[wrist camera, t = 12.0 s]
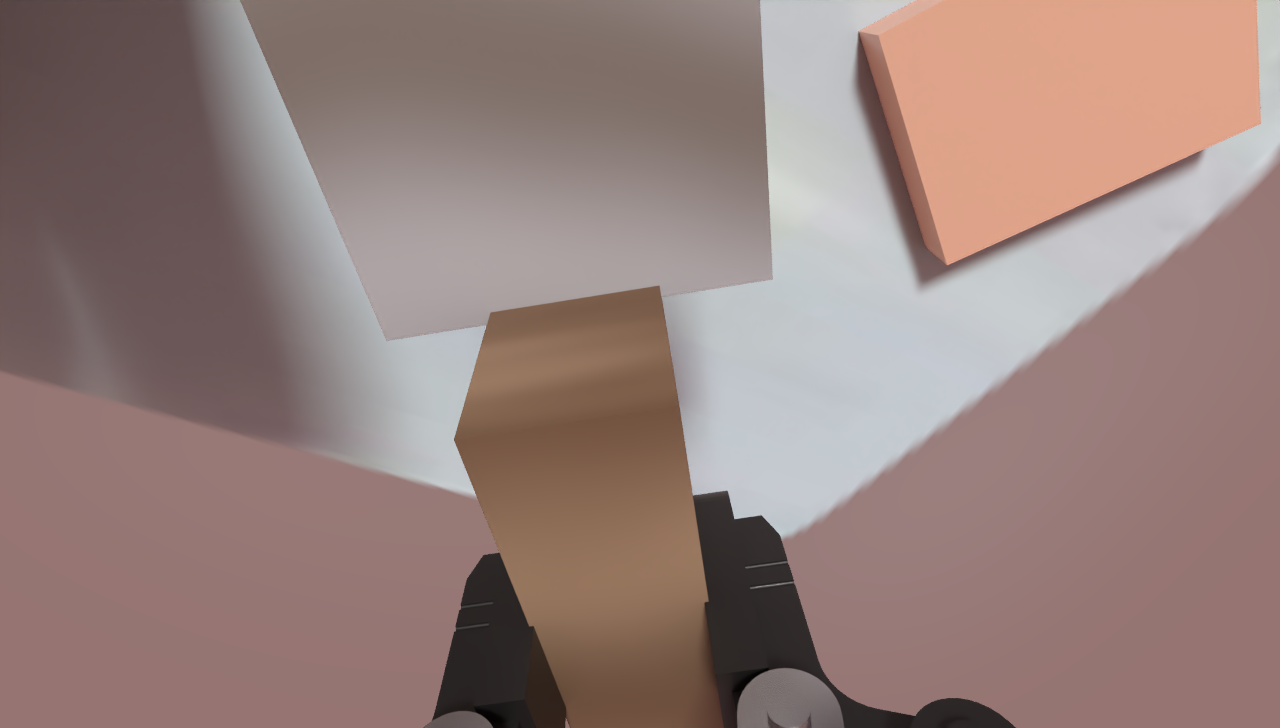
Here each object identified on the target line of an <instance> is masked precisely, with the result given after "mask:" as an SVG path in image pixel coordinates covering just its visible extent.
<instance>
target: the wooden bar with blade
mask: <svg viewBox="0 0 1280 728" xmlns="http://www.w3.org/2000/svg"><path fill="white" fill-rule="evenodd" d="M240 1H241V3H242V6H243V8H244V10H245V13H246V15H247V17H248V20H249V22H250V24H251V27H252V29H253V31H254V34H255V36H256V38H257V41H258V43H259V45H260V47H261V50H262V52H263V54H264V57H265V59H266V61H267V64H268V66H269V68H270V71H271V73H272V75H273V78H274V80H275V82H276V85H277V87H278V89H279V92H280V94H281V96H282V99H283V101H284V103H285V106H286V108H287V110H288V113H289V115H290V117H291V120H292V122H293V124H294V127H295V129H296V131H297V133H298V136H299V138H300V140H301V143H302V145H303V147H304V150H305V152H306V154H307V157H308V159H309V161H310V164H311V166H312V168H313V171H314V173H315V175H316V178H317V180H318V182H319V185H320V187H321V189H322V192H323V194H324V196H325V199H326V201H327V203H328V206H329V208H330V210H331V213H332V215H333V217H334V219H335V222H336V224H337V226H338V229H339V231H340V233H341V236H342V238H343V240H344V243H345V245H346V247H347V250H348V252H349V254H350V257H351V259H352V261H353V264H354V266H355V268H356V271H357V273H358V275H359V278H360V280H361V282H362V285H363V287H364V289H365V292H366V294H367V296H368V299H369V301H370V303H371V305H372V308H373V310H374V312H375V315H376V317H377V319H378V322H379V324H380V326H381V329H382V331H383V333H384V336H385V338H386V340H387V341H389V340H395V339H401V338H408V337H414V336H420V335H426V334H433V333H439V332H445V331H452V330H458V329H464V328H470V327H477V326H483V325H487V326H486V330H485V333H484V337H483V340H482V344H481V347H480V351H479V354H478V358H477V361H476V365H475V368H474V372H473V375H472V379H471V382H470V386H469V389H468V393H467V396H466V400H465V403H464V407H463V410H462V414H461V417H460V421H459V424H458V428H457V431H456V435H455V438H454V441H455V443H456V446H457V448H458V451H459V453H460V456H461V458H462V461H463V463H464V466H465V468H466V471H467V473H468V476H469V478H470V481H471V483H472V486H473V488H474V491H475V493H476V496H477V498H478V500H479V503H480V505H481V508H482V510H483V513H484V515H485V518H486V520H487V522H488V525H489V528H490V530H491V533H492V535H493V538H494V540H495V542H496V545H497V547H498V550H499V553H500V555H501V558H502V560H503V562H504V565H505V567H506V570H507V572H508V575H509V577H510V580H511V582H512V585H513V587H514V590H515V592H516V595H517V597H518V600H519V602H520V605H521V607H522V610H523V612H524V615H525V617H526V620H527V622H528V624H529V626H534V628H535V631H536V633H537V636H538V638H539V641H540V643H541V646H542V648H543V651H544V653H545V656H546V658H547V661H548V663H549V666H550V668H551V671H552V673H553V676H554V678H555V681H556V684H557V686H558V689H559V691H560V694H561V696H562V699H563V701H564V704H565V706H566V719H567V721H568V724H569V726H570V728H724V727H723V720H722V714H721V708H720V701H719V695H718V689H717V682H716V676H715V669H714V663H713V656H712V650H711V643H710V636H709V630H708V623H707V617H706V610H705V603H704V602H709V600H708V593H707V587H706V580H705V574H704V567H703V560H702V554H701V547H700V541H699V534H698V527H697V521H696V514H695V507H694V501H693V494H692V488H691V481H690V474H689V468H688V461H687V454H686V448H685V441H684V435H683V428H682V421H681V415H680V408H679V402H678V396H677V390H676V383H675V377H674V371H673V365H672V359H671V353H670V347H669V340H668V334H667V328H666V322H665V316H664V310H663V304H662V298H661V297H665V296H671V295H678V294H684V293H690V292H696V291H703V290H709V289H715V288H722V287H728V286H734V285H740V284H747V283H753V282H759V281H766V280H772V279H773V276H772V254H771V232H770V211H769V189H768V167H767V146H766V124H765V102H764V81H763V59H762V37H761V16H760V0H240Z"/></svg>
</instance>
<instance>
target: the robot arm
mask: <svg viewBox="0 0 1280 728" xmlns="http://www.w3.org/2000/svg"><path fill="white" fill-rule="evenodd" d="M693 501H694V507H695V514H696V521H697V527H698V534H699V541H700V547H701V554H702V560H703V567H704V574H705V580H706V587H707V593H708V600H709V602H704V603H705V610H706V617H707V623H708V630H709V636H710V643H711V650H712V656H713V663H714V669H715V676H716V682H717V689H718V695H719V701H720V708H721V714H722V720H723V727H724V728H1015V727H1014V726H1013V725H1012V724H1011V723H1010V722H1009V721H1008V720H1006V719H1005V718H1004V717H1002V716H1001V715H1000V714H999V713H997V712H995V711H994V710H992V709H990V708H989V707H986V706H984V705H982V704H979V703H977V702H973V701H970V700H965V699H960V698H947V699H940V700H937V701H934V702H931V703H930V704H928V705H926V706H924V707H923V708H922V709H921V710H920V711H919V712H918V713H917V715H916V716H912V715H906V714H901V713H896V712H891V711H886V710H880V709H875V708H872V707H868V706H865V705H863V704H860V703H858V702H856V701H854V700H852V699H850V698H848V697H847V696H846V695H844V694H843V693H842V692H840V691H839V690H838V689H837V688H836V687H835V686H834V685H833V684H832V683H831V682H830V681H829V679H828V678H827V677H826V675H825V674H824V672H823V670H822V668H821V666H820V663H819V661H818V658H817V655H816V651H815V648H814V645H813V641H812V638H811V635H810V632H809V629H808V626H807V622H806V619H805V615H804V612H803V609H802V606H801V602H800V599H799V596H798V593H797V589H796V586H795V585H794V580H793V576H792V573H791V570H790V567H789V565H788V561H787V557H786V554H785V551H784V548H783V544H782V541H781V537H780V535H779V534H778V533H777V531H776V530H775V529H774V528H773V527H772V526H771V525H770V524H769V523H768V522H767V521H766V520H765V519H764V518H763V516H755V517H748V518H741V519H734V516H733V512H732V507H731V503H730V499H729V494H728V491H721V492H715V493H708V494H701V495H694V496H693ZM565 718H566V706H565V704H564V701H563V699H562V696H561V694H560V691H559V689H558V686H557V684H556V681H555V678H554V676H553V673H552V671H551V668H550V666H549V663H548V661H547V658H546V656H545V653H544V651H543V648H542V646H541V643H540V641H539V638H538V636H537V633H536V631H535V628H534V626H529V624H528V622H527V620H526V617H525V615H524V612H523V610H522V607H521V605H520V602H519V600H518V597H517V595H516V592H515V590H514V587H513V585H512V582H511V580H510V577H509V575H508V572H507V570H506V567H505V565H504V562H503V560H502V558H501V555H500V553H495V554H488V555H483V557H482V558H481V560H480V561H479V563H478V564H477V565H476V567H475V568H474V570H473V571H472V573H471V574H470V575H469V577H468V578H467V581H466V585H465V589H464V593H463V597H462V602H461V610H459V614H458V618H457V623H456V632H454V635H453V639H452V643H451V647H450V651H449V656H448V660H447V664H446V668H445V672H444V676H443V680H442V685H441V689H440V693H439V697H438V701H437V706H436V710H435V713H434V716H433V719H432V722H430V723H429V724H427V725H426V726H425V727H424V728H565V720H566V719H565Z"/></svg>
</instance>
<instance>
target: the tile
mask: <svg viewBox="0 0 1280 728" xmlns="http://www.w3.org/2000/svg"><path fill="white" fill-rule="evenodd" d="M859 34H860V38H861V41H862V44H863V47H864V51H865V54H866V57H867V60H868V63H869V67H870V70H871V73H872V76H873V79H874V83H875V86H876V89H877V92H878V96H879V99H880V102H881V105H882V108H883V112H884V115H885V118H886V121H887V124H888V128H889V131H890V134H891V137H892V141H893V144H894V147H895V150H896V153H897V157H898V160H899V163H900V166H901V169H902V173H903V176H904V179H905V182H906V185H907V189H908V192H909V195H910V198H911V202H912V205H913V208H914V211H915V214H916V218H917V221H918V224H919V227H920V230H921V234H922V237H923V240H924V243H925V247H926V248H927V249H928V250H929V251H931V252H932V253H933V254H934V255H935V256H937V257H938V258H939V259H940V260H941V261H942V262H944V263H945V264H946V265H949V264H952V263H954V262H956V261H958V260H960V259H963V258H965V257H967V256H969V255H971V254H974V253H976V252H978V251H980V250H982V249H985V248H987V247H989V246H991V245H994V244H996V243H998V242H1000V241H1002V240H1005V239H1007V238H1009V237H1011V236H1013V235H1016V234H1018V233H1020V232H1022V231H1024V230H1027V229H1029V228H1031V227H1033V226H1035V225H1038V224H1040V223H1042V222H1044V221H1047V220H1049V219H1051V218H1053V217H1055V216H1058V215H1060V214H1062V213H1064V212H1066V211H1069V210H1071V209H1073V208H1075V207H1077V206H1080V205H1082V204H1084V203H1086V202H1088V201H1091V200H1093V199H1095V198H1097V197H1100V196H1102V195H1104V194H1106V193H1108V192H1111V191H1113V190H1115V189H1117V188H1119V187H1122V186H1124V185H1126V184H1128V183H1130V182H1133V181H1135V180H1137V179H1139V178H1142V177H1144V176H1146V175H1148V174H1150V173H1153V172H1155V171H1157V170H1159V169H1161V168H1164V167H1166V166H1168V165H1170V164H1172V163H1175V162H1177V161H1179V160H1181V159H1183V158H1186V157H1188V156H1190V155H1192V154H1195V153H1197V152H1199V151H1201V150H1203V149H1206V148H1208V147H1210V146H1212V145H1214V144H1217V143H1219V142H1221V141H1223V140H1225V139H1228V138H1230V137H1232V136H1234V135H1237V134H1239V133H1241V132H1243V131H1245V130H1248V129H1250V128H1252V127H1254V126H1256V125H1259V124H1261V118H1260V89H1259V60H1258V31H1257V1H1256V0H915V1H914V2H912V3H910V4H908V5H906V6H904V7H903V8H901V9H899V10H897V11H895V12H893V13H891V14H890V15H888V16H886V17H884V18H882V19H880V20H879V21H877V22H875V23H873V24H871V25H869V26H867V27H866V28H864V29H862V30H860V31H859Z"/></svg>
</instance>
